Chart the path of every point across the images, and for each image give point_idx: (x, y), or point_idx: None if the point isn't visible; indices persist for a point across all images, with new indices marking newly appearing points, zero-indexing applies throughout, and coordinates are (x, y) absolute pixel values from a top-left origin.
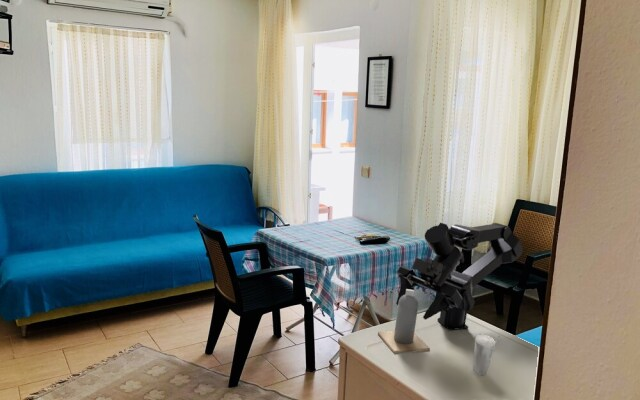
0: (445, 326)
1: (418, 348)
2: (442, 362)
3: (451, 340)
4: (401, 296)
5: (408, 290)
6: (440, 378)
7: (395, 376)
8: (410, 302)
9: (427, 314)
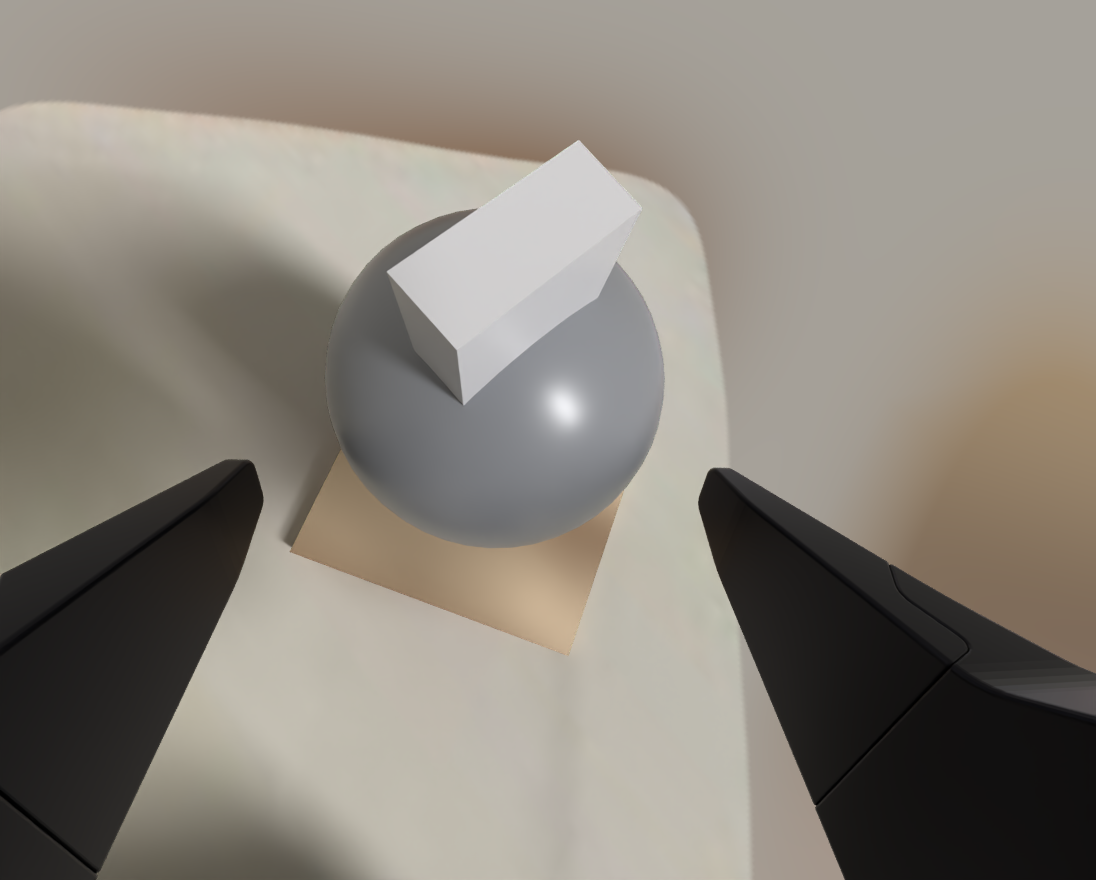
0: None
1: (339, 467)
2: (125, 493)
3: (283, 876)
4: (776, 541)
5: (530, 178)
6: (16, 311)
7: (233, 121)
8: (380, 256)
9: (170, 494)
